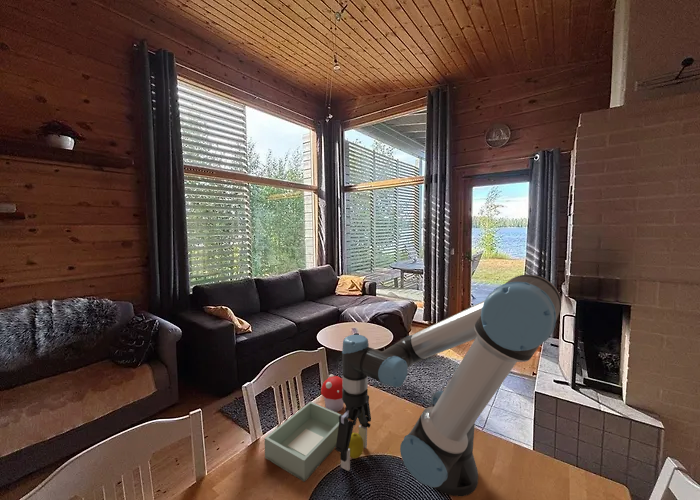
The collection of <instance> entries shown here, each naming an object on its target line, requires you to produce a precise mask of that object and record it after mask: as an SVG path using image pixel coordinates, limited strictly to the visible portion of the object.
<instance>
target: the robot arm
mask: <svg viewBox="0 0 700 500" xmlns="http://www.w3.org/2000/svg"><path fill="white" fill-rule="evenodd" d="M561 310H562V298H561V294H560V293H559V290H558V289H557V287H556V286H555V285H553V283H552V282H550V281H549V280H548V279H546V278H544V277H542V276H539V275H535V274H521V275H516V276H515V277H513V278H511V279H509V280H508V281H506V282H505V283H503V284H501V285H499V286H497V287H495V288H494V290H492V291H491V292H490V293H488V295H487V297H486V298H485V300H482V301H480V302H479V303H475V305H472V306H469V307H468V308H466V309H464V310H461V311H459V312H458V313H456V314H453V315H451V316H449V317H447V318H445V319H442V320H441V321H439V322H436V323H434V324H432V325H430V326H428V327H426V328H423V329H421V330H419V331H417V332H415V333H413V334H411V335H407V336H405V337H402V338H401V339H400V340H398V341H397V342H396V343H394V344H392V345H391V346H389V347H387V348H386V349H384V350H382V351H381V350H379V349H375V348H372V347H370V344H369V339H368V338H367V337H366V336H365V335H362V334H350V335H348V336H345V338H344V339H343V340H342V351H341V355H342V356H341V357H342V379H343V385H342V386H343V389H342V400H343V402H344V405H345V409H344V413H343V414H341V415H340V416H339V427H338V435H337V442H336V447H335V451H337V452H338V453H340V459H339V460H340V468H342V469H344V470H345V471H347V472H349V471H350V470H351V457H350V449H349V444H350V439H351V435H352V433H353V431H354V426H356V424H357V420H358V422H359V425H358V432H357V433H358V434H359V435H360V436H361V437H362V439H363V444H364V448H363V449H367V447H368V429H370V427H371V423H369V422H371V421H372V415H371V408H370V395H369V394H368V387H369V386H368V384H369V382H368V381H369V380H368V378H371V379H373V380H375V381H378V382H379V383H381V384H383V385H387V386H389V387H393V388H399V387H401V386H402V385H404V382H405V381H406V379H407V378H408V377H407V376H408V374H409V367H411V366H412V365H414V364H416V363H418V362H421V361H423V360H425V359H427V358H430V357H432V356H435V355H438V354H440V353H443V352H445V351H447V350H451V349H453V348H455V347H458V346H461V345H463V344H466V343H469V342H471V341H473V342H472V344H471V345H470V347H469V348H468V350H467V352H466V354H465V355H464V356H463V358H462V360H461V361H460V363H459V365H458V366H457V368H456V370H455V372H454V373H453V375H452V377H451V378H450V380H449V381H448V383H447V385H446V386H445V388H444V390H440V391H439V390H438V391H436V392H434V393H433V394H432V396H431V400H430V403H431V406H428V407H426V408H424V410H423V411H422V413H421V414H420V416H419V418H417V421H416V422H415V424H414V426H413V427H412V428H411V430H410V431H409V433H407V435H405V436H404V437H403V440H402V441H401V444H400V449H399V450H400V451H399V452H400V456H401V459H402V460H403V461H402V462H403V464H404V466H405V468H406V469H407V471H408V472H409V473H410V474H411V476H413V478H414V479H416V480H417V481H418V482H419V483H421V484H422V485H424V486H428V487H430V488H434V487H435V488H434V489H436V490H437V491H439V492H441V493H443V494H445V493H446V494H445V495H448V496H453V497H465V496H468V495H471V494H472V493H474V492H475V490H476V489H477V487H478V484H479V471H478V466H477V464H476V460H475V456H474V452H473V451H474V438H475V424H476V421H477V420H478V418H479V417H480V416H481V414H482V413H483V411H484V410H485V408H486V407H487V405H488V404H489V403H490V402H491V400H492V398H493V397H494V395H495V394H496V392H497V391H498V390H499V388H500V387H501V385H502V384H503V383H504V382H505V379H506V378H507V377H508V375H509V374H510V372H511V371H512V370H513V368H514V367H515V365H516V364H517V363H523V362H524V363H526V362H529V361H530V360H531V359H532V357H533V356H534V355H535V353H536V352H537V350H538V349H539V347H540V346H541V345H542V344H543V343H545V342H546V341H548V340H549V338H550V337H551V335H552V334H553V332H554V330H555V328H556V322H557V321H558V318H559V316H560V313H561Z"/></svg>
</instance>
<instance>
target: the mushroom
mask: <svg viewBox="0 0 700 500" xmlns="http://www.w3.org/2000/svg"><path fill="white" fill-rule="evenodd" d="M342 385H343V377H340V376H338V375H334V374H332V373H331V374H329V376H328V377H327V379H326V380H324V382H323V383H322V385H321V391H320V394H321V396H323V397H324V398H323V399H324V400H323V401H324V404H325V406H324V407H325V408H327V409H329V410H332V411H334V412H336V413H338V412H341V410H342V409H343V408H344V405H345V403H344V402H343V400H342V389H343V386H342Z"/></svg>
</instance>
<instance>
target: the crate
mask: <svg viewBox="0 0 700 500" xmlns="http://www.w3.org/2000/svg"><path fill="white" fill-rule="evenodd" d="M340 415H342V414H341V413H338V412H334V411H332V410H329V409H327V408H326V406H322V405H319V404H317V403H315V402H313V401H309V402H308V403H306V404H304V406H303V407H301V408H300V409H298V410H297V411H296V412H294V414H293V415H292V416H290V417H289V418H288V419H286V420H285V421H284V422H283V423H281V425H279V426H278V427H276V428H275V429H274V430H273V431H271V432H270V433H269V434H268V435H267V436H265V437H264V458H265V459H266V460H268V461H269V462H271V463H273V464H274V465H276V466H277V467H279V468H281V469H282V470H284V471H286V473H289V474H290V475H292V476H294V477H295V478H298V479H299V480H301V481H302V482H306V481H307V480H308V479H309V478H310V477H311V475H312V474H313V473H314V472H315V471H316V469H318V467H319V466H321V464H322V463H323V462H324V461H325V460H326V459H327V457H328V456H329V455H330V454H331V453H332V452H333V450H334V449H336V442H337V435H338V427H339V416H340Z"/></svg>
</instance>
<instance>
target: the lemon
mask: <svg viewBox="0 0 700 500" xmlns="http://www.w3.org/2000/svg"><path fill="white" fill-rule="evenodd" d="M349 449H350V459H358V458H360V457H361V456H362V454H363V452H364V449H365V448H364V444H363V439H362V437H361V436H360V435H359V434H358V432H352V435H351V439H350V444H349Z"/></svg>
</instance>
